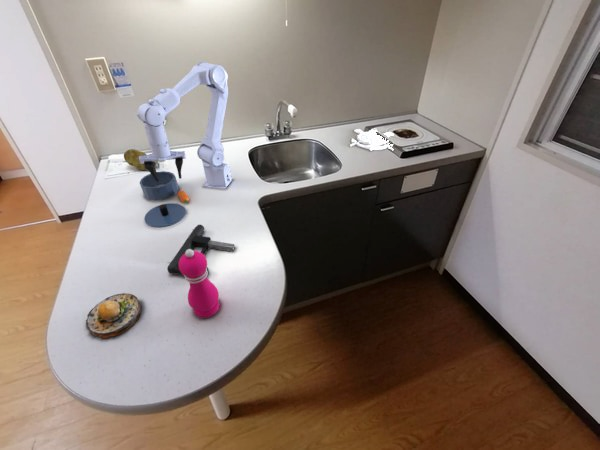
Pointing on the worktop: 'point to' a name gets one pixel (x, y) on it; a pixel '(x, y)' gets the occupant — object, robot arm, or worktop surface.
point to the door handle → (197, 241)
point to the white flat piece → (371, 140)
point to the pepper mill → (199, 284)
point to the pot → (161, 191)
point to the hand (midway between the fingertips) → (169, 178)
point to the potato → (135, 158)
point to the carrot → (183, 196)
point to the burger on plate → (113, 315)
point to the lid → (165, 215)
